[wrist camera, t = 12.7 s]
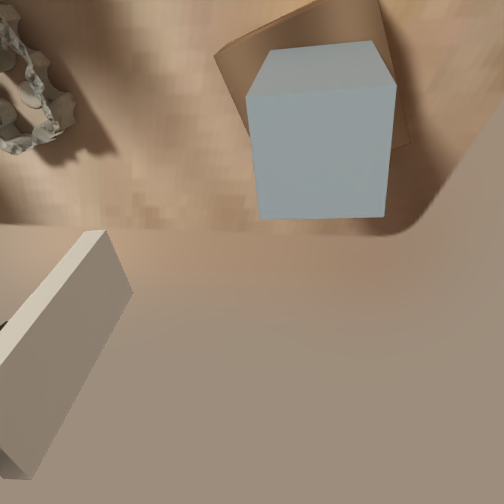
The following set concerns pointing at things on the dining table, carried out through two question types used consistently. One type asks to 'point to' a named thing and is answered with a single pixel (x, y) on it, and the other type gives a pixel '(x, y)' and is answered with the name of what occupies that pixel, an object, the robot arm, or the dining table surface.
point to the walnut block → (303, 35)
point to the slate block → (322, 132)
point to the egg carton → (29, 91)
